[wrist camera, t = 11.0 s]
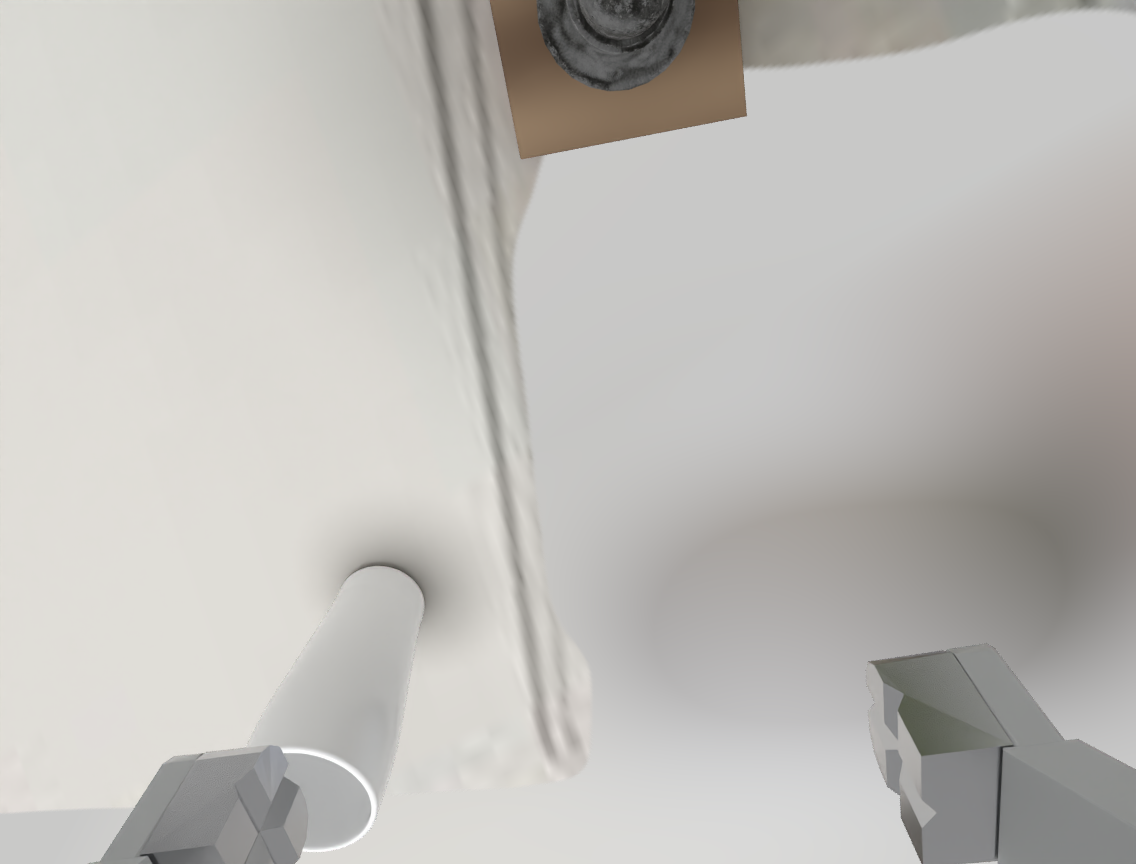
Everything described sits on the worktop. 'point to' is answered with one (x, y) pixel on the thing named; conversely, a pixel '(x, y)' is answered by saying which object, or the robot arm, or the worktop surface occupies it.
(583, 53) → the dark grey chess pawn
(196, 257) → the worktop surface
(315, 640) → the drinking glass
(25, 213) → the worktop surface
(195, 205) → the worktop surface
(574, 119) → the base block
